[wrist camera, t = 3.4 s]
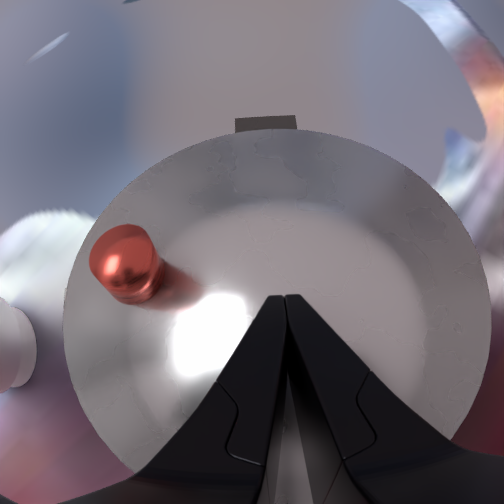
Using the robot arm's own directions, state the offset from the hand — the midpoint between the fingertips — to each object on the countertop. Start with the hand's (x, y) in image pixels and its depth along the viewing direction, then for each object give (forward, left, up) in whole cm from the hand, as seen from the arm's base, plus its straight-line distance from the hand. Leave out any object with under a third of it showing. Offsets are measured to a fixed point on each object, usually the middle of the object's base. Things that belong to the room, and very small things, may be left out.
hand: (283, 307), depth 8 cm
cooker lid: (+1, -1, -2) cm, 2 cm away
